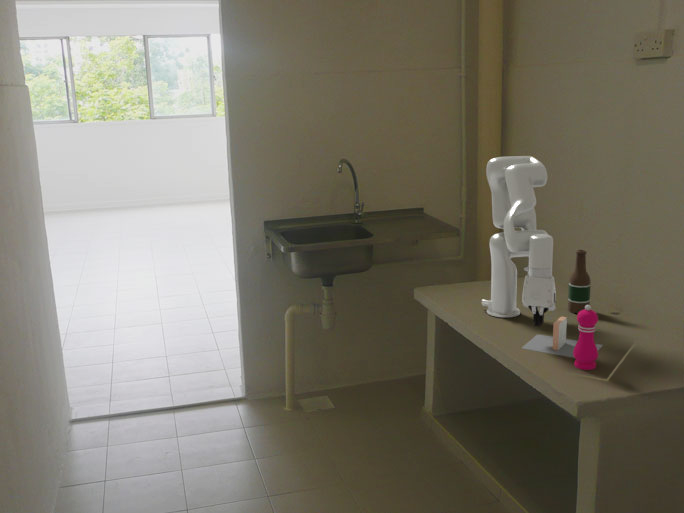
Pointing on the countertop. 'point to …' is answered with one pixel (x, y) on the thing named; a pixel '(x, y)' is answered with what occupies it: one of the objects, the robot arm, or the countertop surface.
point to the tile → (559, 333)
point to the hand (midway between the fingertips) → (538, 325)
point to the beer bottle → (579, 285)
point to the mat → (546, 346)
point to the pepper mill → (586, 340)
